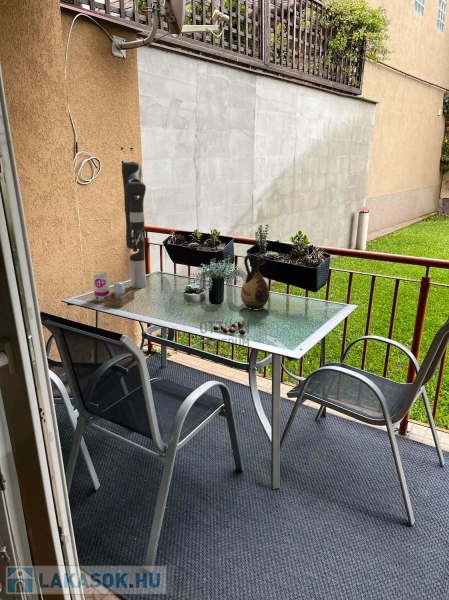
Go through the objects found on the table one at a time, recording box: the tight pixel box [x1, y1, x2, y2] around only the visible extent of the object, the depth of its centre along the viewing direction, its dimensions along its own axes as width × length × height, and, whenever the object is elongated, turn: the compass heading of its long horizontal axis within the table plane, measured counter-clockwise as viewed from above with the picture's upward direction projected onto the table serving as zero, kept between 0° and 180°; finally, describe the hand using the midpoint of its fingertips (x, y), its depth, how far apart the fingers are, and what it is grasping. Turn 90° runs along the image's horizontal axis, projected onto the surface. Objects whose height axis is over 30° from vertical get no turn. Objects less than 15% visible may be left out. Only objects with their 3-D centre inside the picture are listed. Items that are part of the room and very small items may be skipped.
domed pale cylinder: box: [113, 281, 126, 301], centre depth 248 cm, size 6×6×10 cm
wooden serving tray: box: [103, 289, 135, 308], centre depth 249 cm, size 16×10×5 cm, turn 165°
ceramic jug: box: [240, 253, 270, 309], centre depth 239 cm, size 17×15×30 cm
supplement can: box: [92, 271, 110, 302], centre depth 252 cm, size 8×8×15 cm
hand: (138, 250), depth 243 cm, fingers open, 8 cm apart
